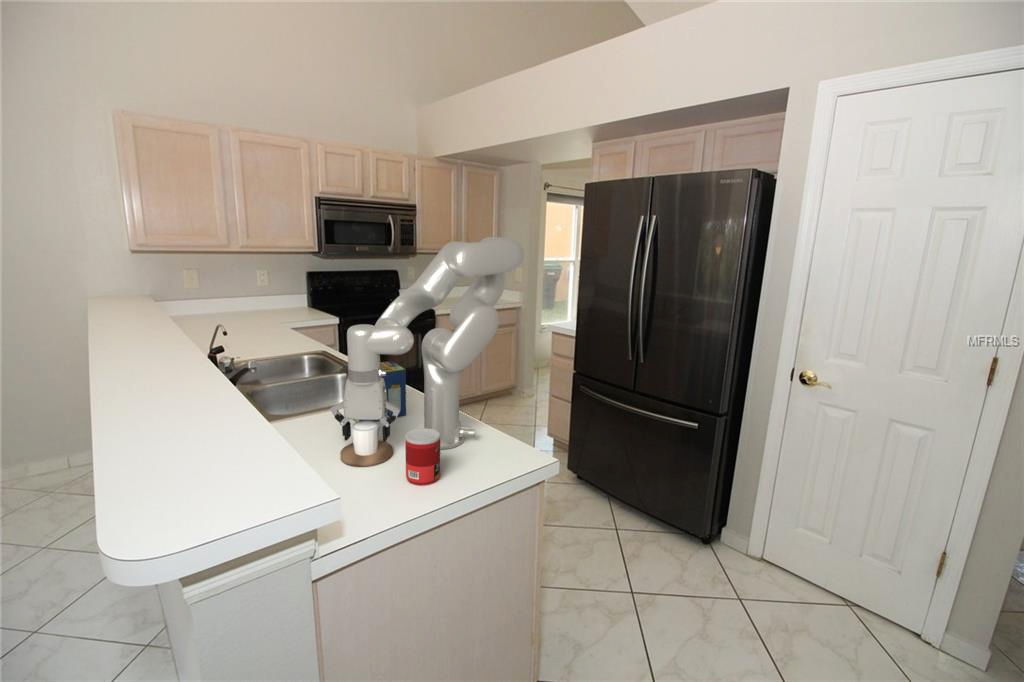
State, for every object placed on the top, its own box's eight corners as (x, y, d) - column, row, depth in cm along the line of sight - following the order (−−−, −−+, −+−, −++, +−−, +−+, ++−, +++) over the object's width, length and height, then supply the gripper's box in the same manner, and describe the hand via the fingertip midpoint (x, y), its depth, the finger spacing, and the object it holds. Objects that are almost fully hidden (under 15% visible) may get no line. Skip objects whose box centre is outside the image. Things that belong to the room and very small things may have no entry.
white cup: (355, 458, 118) (353, 432, 117) (349, 447, 124) (348, 422, 122) (382, 453, 121) (382, 428, 120) (376, 442, 127) (375, 418, 126)
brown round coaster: (397, 444, 130) (397, 440, 129) (386, 467, 117) (386, 463, 117) (349, 443, 129) (349, 439, 129) (333, 466, 116) (333, 462, 116)
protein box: (346, 414, 149) (344, 366, 145) (393, 405, 158) (392, 360, 154) (358, 426, 140) (356, 375, 137) (407, 415, 150) (406, 368, 146)
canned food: (442, 484, 110) (442, 440, 108) (407, 488, 108) (406, 443, 106) (437, 468, 118) (437, 426, 115) (404, 471, 115) (404, 429, 113)
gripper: (402, 371, 122) (403, 433, 126) (334, 369, 121) (337, 432, 125) (396, 380, 115) (397, 446, 119) (323, 378, 114) (327, 444, 118)
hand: (366, 438), depth 122 cm, fingers open, 9 cm apart
